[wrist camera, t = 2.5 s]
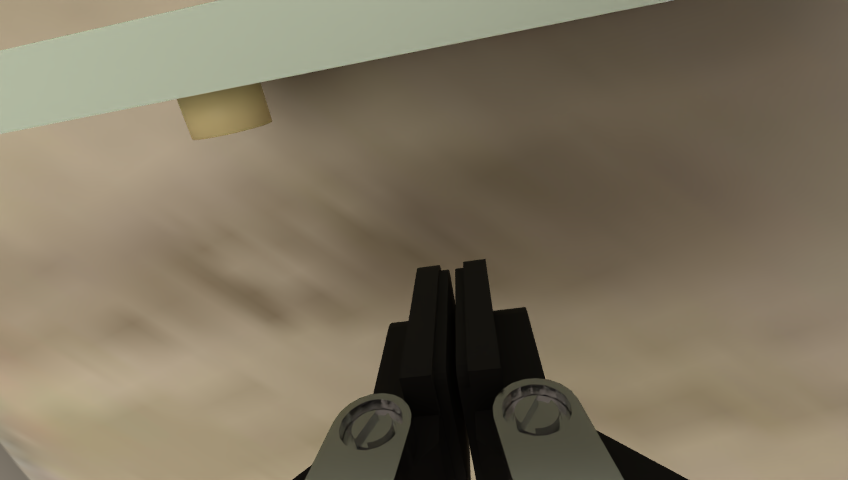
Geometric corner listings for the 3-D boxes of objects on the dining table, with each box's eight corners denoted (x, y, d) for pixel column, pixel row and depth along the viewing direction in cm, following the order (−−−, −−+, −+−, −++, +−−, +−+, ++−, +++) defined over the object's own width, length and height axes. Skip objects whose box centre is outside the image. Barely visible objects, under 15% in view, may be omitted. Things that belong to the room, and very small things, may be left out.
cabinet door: (238, 48, 17) (-75, 60, 7) (869, -85, 14) (1882, -396, 4) (257, 108, 18) (3, 194, 8) (855, -6, 15) (1657, -97, 5)
